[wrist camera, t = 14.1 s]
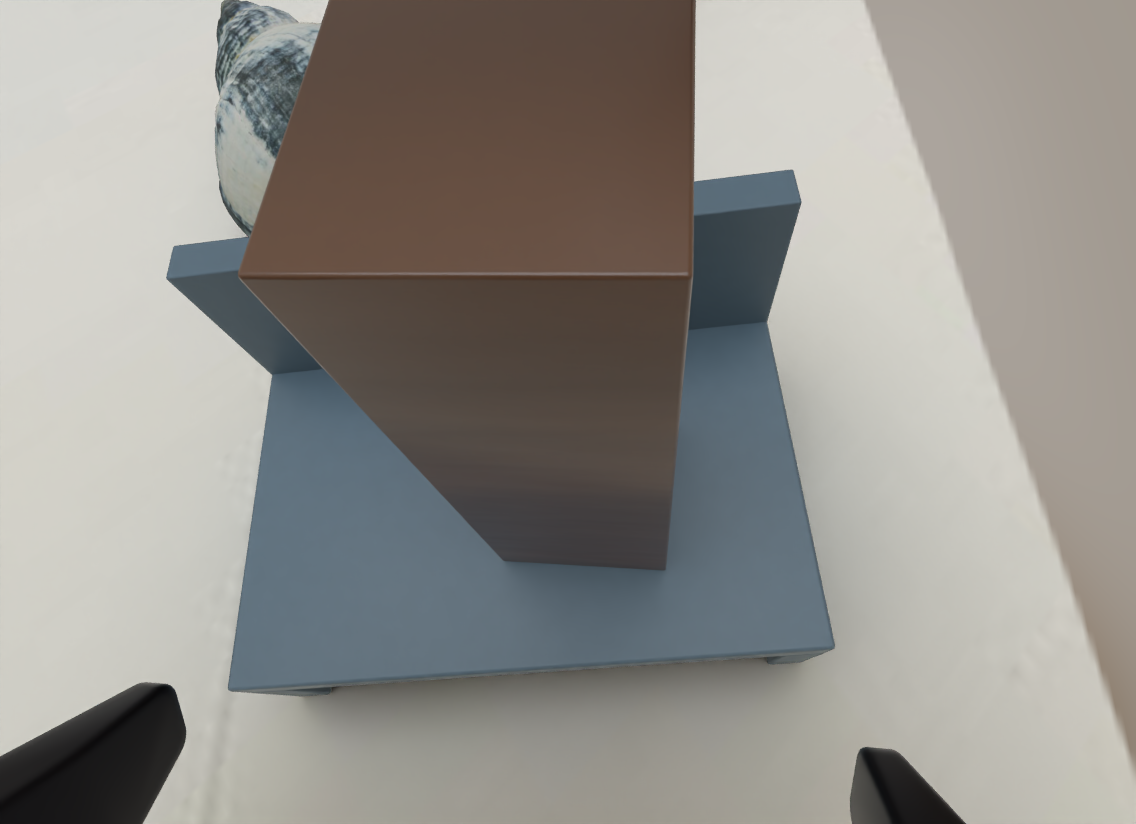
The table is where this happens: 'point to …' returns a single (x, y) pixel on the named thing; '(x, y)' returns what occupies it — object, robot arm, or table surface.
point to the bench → (467, 563)
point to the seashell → (255, 98)
